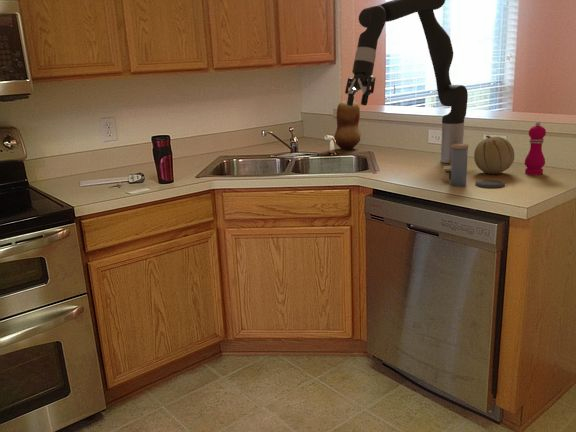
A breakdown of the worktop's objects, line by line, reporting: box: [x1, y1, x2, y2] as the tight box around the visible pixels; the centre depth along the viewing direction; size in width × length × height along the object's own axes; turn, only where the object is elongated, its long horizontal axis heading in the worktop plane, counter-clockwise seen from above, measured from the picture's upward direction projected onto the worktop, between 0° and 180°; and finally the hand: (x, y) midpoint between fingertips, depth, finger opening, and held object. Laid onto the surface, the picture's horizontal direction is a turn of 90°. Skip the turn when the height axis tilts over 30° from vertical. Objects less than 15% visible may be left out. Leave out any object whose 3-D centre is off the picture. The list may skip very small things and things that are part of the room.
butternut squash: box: [333, 100, 361, 150], centre depth 279 cm, size 14×13×25 cm
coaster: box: [475, 179, 506, 189], centre depth 194 cm, size 10×10×1 cm
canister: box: [449, 143, 469, 188], centre depth 194 cm, size 6×6×15 cm
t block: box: [442, 165, 451, 183], centre depth 203 cm, size 5×5×5 cm
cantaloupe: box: [473, 135, 515, 175], centre depth 209 cm, size 15×15×15 cm
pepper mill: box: [524, 121, 547, 176], centre depth 205 cm, size 7×7×20 cm
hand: (356, 105), depth 200 cm, fingers open, 8 cm apart
